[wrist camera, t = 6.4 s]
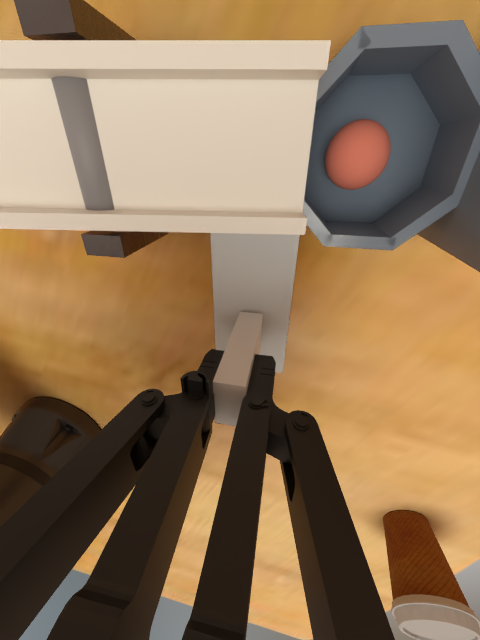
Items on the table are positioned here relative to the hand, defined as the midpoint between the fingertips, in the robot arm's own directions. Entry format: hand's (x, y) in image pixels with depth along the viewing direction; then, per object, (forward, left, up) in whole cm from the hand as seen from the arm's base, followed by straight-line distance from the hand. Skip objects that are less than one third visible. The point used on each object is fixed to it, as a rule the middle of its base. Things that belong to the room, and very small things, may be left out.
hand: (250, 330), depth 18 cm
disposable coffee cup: (+25, -39, -10) cm, 47 cm away
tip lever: (-9, +5, -1) cm, 10 cm away
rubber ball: (+6, +10, -7) cm, 14 cm away
